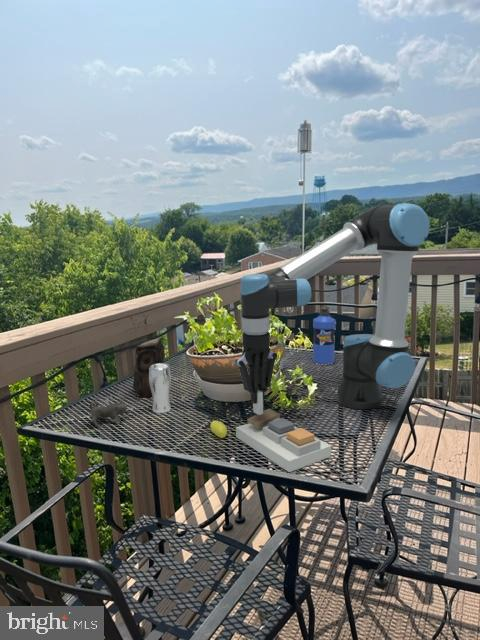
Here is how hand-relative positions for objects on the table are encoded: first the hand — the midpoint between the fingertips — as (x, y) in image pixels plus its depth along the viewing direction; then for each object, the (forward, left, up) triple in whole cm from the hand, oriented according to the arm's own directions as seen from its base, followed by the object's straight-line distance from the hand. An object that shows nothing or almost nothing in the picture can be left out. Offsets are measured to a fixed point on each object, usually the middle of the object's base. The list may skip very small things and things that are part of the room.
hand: (258, 412), depth 134 cm
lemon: (+8, -9, -8) cm, 14 cm away
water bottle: (-65, -43, -8) cm, 78 cm away
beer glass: (+14, -36, -8) cm, 39 cm away
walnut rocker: (-2, 0, -3) cm, 3 cm away
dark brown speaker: (+11, -54, -8) cm, 55 cm away
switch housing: (-2, +8, -8) cm, 11 cm away
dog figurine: (+31, -35, -8) cm, 48 cm away
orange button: (-2, +16, -3) cm, 16 cm away
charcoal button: (-2, +8, -3) cm, 9 cm away
